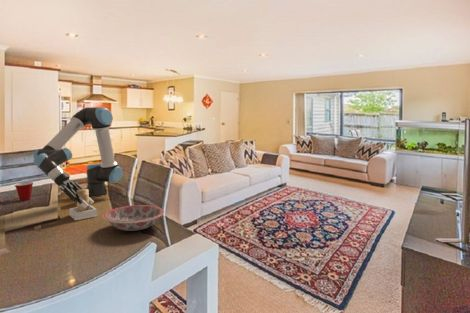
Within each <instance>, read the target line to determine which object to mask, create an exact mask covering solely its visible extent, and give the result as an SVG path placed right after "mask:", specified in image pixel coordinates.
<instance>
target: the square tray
mask: <svg viewBox="0 0 470 313" xmlns="http://www.w3.org/2000/svg"><path fill="white" fill-rule="evenodd" d="M69 216H70V217H71V219H73V220H74V221H79V220H84V219H90V218H94V217H95V218H96V217H98V208H96V207H94V206H93V205H92V204H91V205H90V204H89V210H88V211H82V212H77V206H76V207H71V208H69Z"/></svg>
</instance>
